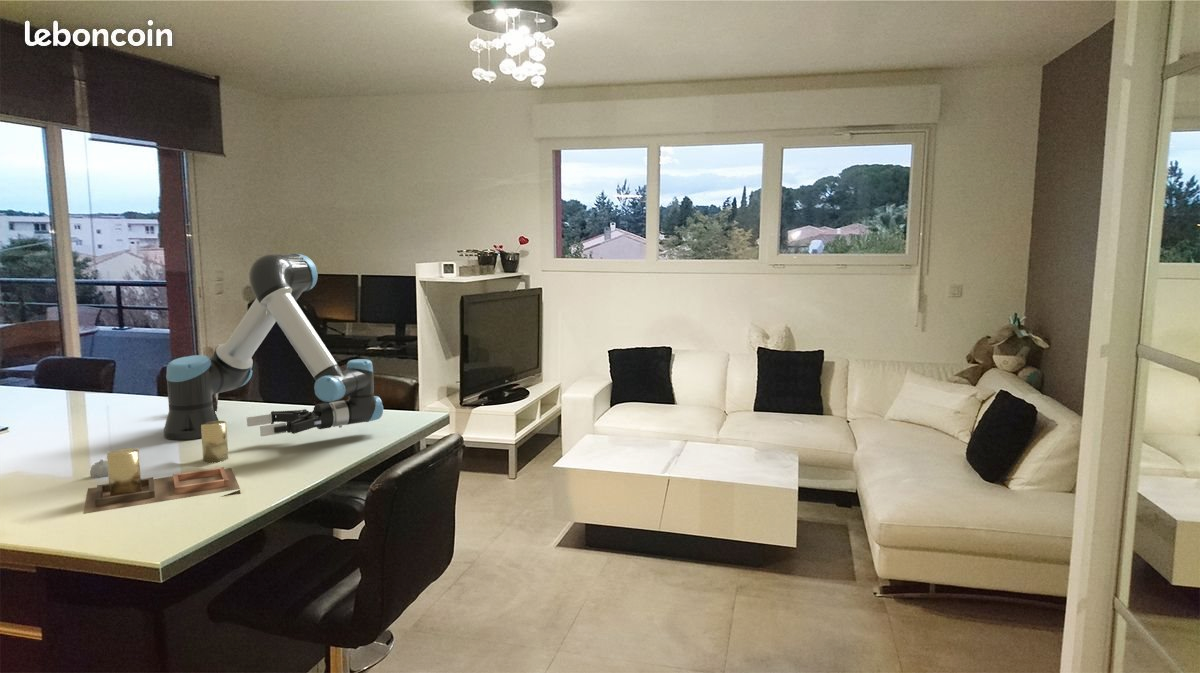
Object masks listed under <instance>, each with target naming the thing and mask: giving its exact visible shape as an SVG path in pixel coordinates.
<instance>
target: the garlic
mask: <svg viewBox="0 0 1200 673" xmlns="http://www.w3.org/2000/svg"><path fill="white" fill-rule="evenodd" d="M89 476H90V477H91V478H105V477H109V475H108V462H107V460H104V459H99V461H96V462H95V463H94V464H92V466H91V467H90V470H89Z"/></svg>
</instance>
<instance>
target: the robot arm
mask: <svg viewBox="0 0 1200 673" xmlns="http://www.w3.org/2000/svg"><path fill="white" fill-rule="evenodd" d="M318 274H319V273H318V271H317V266H316V264H315V263H314V261H313V260H312V259H311V258H309V256H307V255H304V254H299V253H294V252H293V253H287V254H286V253H285V254H284V253H282V254H279V253H278V254H277V253H276V254H273V253H272V254H271V253H270V254H265V255H262V256H259V257H258V258H257V259H256V260H255V261H254V262H253V263H252V264H251V266H250V269H249V274H248V281H249V284H250V288H251V291H252V294H253V295H254V297H255V299H254V301H253V302H252V303H251V305H250V307H249V308H248V310H247V311H246V313H245V314H244V316H243V317H242V318H241V321H239V323H238V324H237V326H236V328H235V329H234V331H233V332H232V333H231V335H230V337H229V338H228V340H227V341H226V343H221V344H218V346H217V347H216V348H215V349H214V351H213V353H212V354H211V355H210V357H209V356H207V355H202V354H200V355H199V354H198V355H197V354H196V355H195V354H194V355H188V356H182V357H178V358H175V359H172V361H169V362H168V364H167V366H166V374H165V378H166V389H167V397H168V398H167V400H168V414H167V417H166V421H165V423H164V427H163V437H164V438H165V439H168V440H174V441H176V440H177V441H183V440H184V441H185V440H196V439H202V433H201V424H203V423H206V422H211V421H220V420H219V418H218V416H217V414H216V412H215V411H214V409H213V402H212V395H214V394H217V393H218V394H220V393H225V392H229V391H233V390H234V391H235V390H237V389H239V388H241V387H243V386H245V385H247V384H248V382H249V381H250V379H251V378H252V375H253V370H252V369H253V363H254V361H253V360H254V359H253V358H252V357H253V356H254V354H255V352H256V351H257V350H258V348H259V347H260V345H261V344H262V343H263V341H264V340H265V338H266V337H267V335H268V334H269V332H270V331H271V330H272V328H273V326H274V325H275V324H276V323H277V325H278V327H279V328H280V329H281V331H282V332H283V333H284V336H286V339H287V340H288V341H289V343H290V344H291V346H292V347H293V349H294V350H295V352H296V353H297V354H298V357H299V358H300V359H301V361H302V363H303V364H304V365H305V367H306V368H307V370H308V371H309V372H310V374H311V376H312V377H313V379H314V380H315V382H314V388H313V389H314V395H315V396H316V397H317V398H318V399H319V400H320V401H322V403H316V404H315V405H314V406H313V410H312V411H309V410H307V409H305V408H304V409H298V410H297V409H295V410H277V411H275V410H272V411H271V412H270V413H267V414H266V413H265V414H259V415H258V414H257V415H253V416H252V415H251V416H250V415H249V416H246V426H247V427H249V428H250V427H254V426H259V431H260V434H259V435H260V437H268V436H272V435H273V436H274V435H280V434H285V433H289V434H293V435H294V434H295V435H296V434H298V433H301V432H304V431H308V430H310V429H313V428H316V429H318V430H324V429H331V428H332V427H333V428H335V427H338V428H343V426H348V425H354V424H362V423H369V422H373V421H377V420H380V419H381V418H382V416H383V414H384V405H383V401H382V399H381V398H380V396H378V395H375V393H374V392H375V390H374V388H375V386H374V378H375V377H374V367H373V362H372V360H370V359H364V358H357V359H356V358H355V359H350V360H348V361H347V362H346V369H345V370H342V368H341V367H340V366H339V364H338V362H337V361H336V360H335V358H334V356H333V355H332V354H331V351H330V350H329V349H328V348H327V346H326V344H325V343H324V342H323V340H322V338H321V337H320V335H319V334H318V332H317V331H316V330H315V328H314V326H313V325H312V323H311V322H310V320H309V319H308V317H307V316H306V314H305V313H304V311H303V310H302V308H301V307H300V305H299V304H298V303H297V301H298V299H299V298H300V297H301V295H302V294H303V292H308V291H310V290H312V289H313V288H314V287H315V286H316V284H317V282H318ZM346 397H347V398H348V399H344V400H342V399H343V398H346ZM278 422H280V423H278ZM266 424H267V425H266Z"/></svg>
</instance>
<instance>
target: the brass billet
mask: <svg viewBox="0 0 1200 673" xmlns="http://www.w3.org/2000/svg"><path fill="white" fill-rule="evenodd" d="M227 432H228V431H227V422H226V421H225V420H219V421H211V422H206V423H203V424H201V433H202V438H201V449H202V461H203V463H206V462H207V464H208V463H209V464H212V462H213V463H214V462H216V463H221V462H224V460H225V461H227V460H228V459H229V448H228V433H227ZM226 459H227V460H226ZM220 461H221V462H220Z"/></svg>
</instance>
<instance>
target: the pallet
mask: <svg viewBox="0 0 1200 673" xmlns="http://www.w3.org/2000/svg"><path fill="white" fill-rule="evenodd" d="M141 490H142V492H136V493H129V494H123V495H116V496H110V488H109V483H105V484H103V483H102V484H97V485H96V486H95V487H89V488H87V491H86V497H85V504H84V507H83V515H84V514H92V513H99V512H103V511H110V510H117V509H123V508H130V507H134V506H142V505H148V504H154V503H160V502H166V501H173V500H178V499H179V500H180V499H185V498H193V497H198V496H204V495H212V494H216V493H217V494H218V493H223V492H230V493H227V494H224V495H221V496H220V497H228V496H234V495H240V494H241V488H240V485H239V483H238V480H237V478H236V476H235V473H234V471H233V469H232V467H228V468H225V467H224V466H223V467H216V468H209V469H201V470H196V471H195V470H194V471H188V472H182V473H175V474H172V476H165V477H160V478H154V476H152V477H145V478H141ZM235 490H236V491H235ZM231 491H232V492H231Z"/></svg>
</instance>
